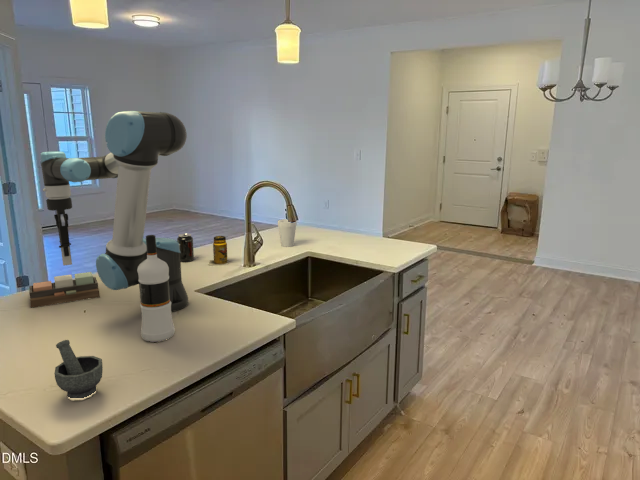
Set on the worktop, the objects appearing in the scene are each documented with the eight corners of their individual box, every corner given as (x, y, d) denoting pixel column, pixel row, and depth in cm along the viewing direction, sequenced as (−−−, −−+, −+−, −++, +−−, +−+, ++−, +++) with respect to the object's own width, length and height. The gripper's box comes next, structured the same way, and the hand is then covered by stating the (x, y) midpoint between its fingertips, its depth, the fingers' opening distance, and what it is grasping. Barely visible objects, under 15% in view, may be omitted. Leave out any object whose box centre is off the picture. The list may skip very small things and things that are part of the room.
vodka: (166, 344, 131) (158, 239, 124) (135, 342, 132) (125, 238, 125) (180, 330, 140) (173, 232, 133) (151, 328, 141) (142, 231, 134)
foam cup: (274, 246, 240) (274, 221, 237) (283, 242, 248) (282, 218, 245) (291, 248, 236) (291, 223, 233) (299, 244, 244) (299, 220, 241)
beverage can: (196, 258, 217) (194, 233, 214) (190, 262, 210) (189, 236, 207) (181, 258, 217) (180, 233, 215) (176, 262, 211) (174, 236, 208)
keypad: (99, 297, 167) (98, 284, 166) (31, 307, 157) (29, 295, 156) (95, 286, 178) (94, 275, 177) (31, 296, 168) (29, 284, 167)
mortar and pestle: (114, 389, 108) (109, 341, 105) (76, 410, 100) (70, 359, 97) (83, 377, 113) (77, 331, 111) (45, 395, 105) (38, 346, 103)
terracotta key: (52, 293, 162) (51, 285, 162) (34, 296, 160) (33, 288, 159) (52, 288, 167) (51, 280, 167) (34, 290, 165) (33, 283, 164)
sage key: (93, 283, 168) (92, 276, 168) (76, 286, 166) (75, 278, 165) (92, 279, 173) (91, 271, 173) (75, 281, 171) (74, 274, 170)
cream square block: (73, 286, 165) (72, 278, 165) (55, 289, 162) (54, 281, 162) (72, 281, 170) (71, 274, 170) (54, 284, 168) (54, 276, 167)
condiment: (228, 264, 208) (226, 238, 205) (208, 265, 206) (207, 238, 204) (228, 260, 215) (227, 234, 212) (209, 260, 214) (208, 235, 211)
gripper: (44, 196, 163) (54, 262, 168) (47, 200, 152) (56, 270, 158) (69, 194, 167) (77, 259, 172) (72, 198, 156) (81, 267, 162)
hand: (67, 264), depth 165 cm, fingers closed
